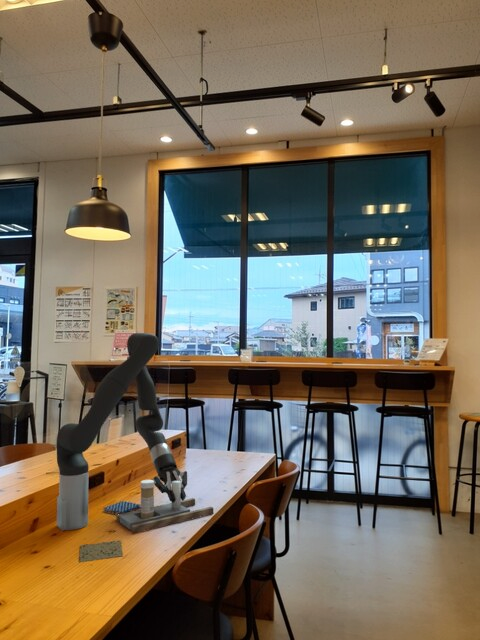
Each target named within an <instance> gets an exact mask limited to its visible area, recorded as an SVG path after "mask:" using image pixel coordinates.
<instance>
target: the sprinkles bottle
mask: <svg viewBox="0 0 480 640" xmlns="http://www.w3.org/2000/svg"><path fill="white" fill-rule="evenodd" d="M139 484H140V485H139V486H140V504H141V509H140V510H141V518H140V519H142V520H143V519H147V518H151V517H154V507H155V493H154V492H155V491H154V490H155V485H154V481H153V479H143V480H141V481H140V483H139Z"/></svg>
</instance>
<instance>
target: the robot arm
mask: <svg viewBox="0 0 480 640" xmlns="http://www.w3.org/2000/svg"><path fill="white" fill-rule="evenodd" d="M159 341H160V340H159V338H158V336H156V335H155V334H154V333H150V332H149V333H148V332H135V333H132V334H131V335H129V337H128V339H127V341H126V348H127V353H128V354H127V355H128V356H129V357H127V359H126V360H124V361H123V362H122V363H120V364H119V365H117V366H115V367H114V368H113V369H112V370H110V371H109V372H108V373H107V374H106V375H105V376H104V377H103V379H102V380H101V381H100V383H99V384H98V386H97V387H96V389H95V391H94V394H93V399H92V402H91V406H90V408H89V410H88V411H87V413H86V414H85V415H84V417H83V418H82V419H81V421H80V422H79V423H72V422H70V423H69V422H68V423H66V424H64V425H62V426H61V428H60V429H59V430H58V433H57V436H56V464H57V467H58V471H59V473H58V474H59V475H58V476H59V480H58V483H59V484H58V487H59V488H58V493H59V494H58V495H57V497H56V498H57V499H56V527H58V528H59V529H60V530H61V531H72V530H73V531H74V530H77V529H81V528H84V527H86V526H87V525H89V475H90V474H89V472H90V471H89V468H90V467H89V463H88V461H87V460H86V458H85V457H84V452H86V451H87V450H88V449H89V448H90V447H91V446H92V444H93V443H94V442H95V439H96V438H97V436H98V435H99V432H100V430H101V429H102V427H103V425H104V423H105V422H106V421H107V419H108V418H109V416H110V415H111V413H112V412H113V410H114V409H115V407H116V406H117V405H118V403H119V402H120V401H121V400H122V398H123V396H125V394H126V392H127V390H128V389H129V388H130V386H131V385H132V383H133V382H134V381H135V384H136V385H135V386H136V391H137V395H136V396H137V403H138V404H137V405H138V409H139V410H141V411H150V412H151V413H150V414H145V415H142V416H141V415H140V416H139V417H137V418H136V420H135V429H136V431H137V433H138V434H139V435H140V437H141V438H142V439H143V440H144V441H145V443H146V445H147V447H148V449H149V452H150V457H151V461H152V463H153V465H154V468H155V471H156V474H157V476H154V477H153V479H152V480H153V481H154V487H156V488H157V490H158V491H159V492H160V493H161V494H164V493H165V494H167V497H168V499H169V502H170V503H174V502H175V500H176V498H175V495H174V493H173V490H172V484H171V482H172V481H181V501H183V500H186V497H187V494H186V492H185V488H186V487H187V485H188V471H186V470H185V471H180V469H179V468H178V465H177V462H176V460H175V457H174V455H173V453H172V450H171V448H170V446H169V444H168V441H167V439H166V437H165V435H164V433H163V432H160V431H161V430H162V429H163V427H164V420H163V417H162V415H161V413H160V410H159V407H158V403H157V395H156V394H157V392H156V387H155V384H154V381H153V379H152V377H151V375H150V373H149V371H148V367H147V364H148V363H149V362H150V360H152V358H153V357H154V356H155V355H156V353H157V352H158V350H159V345H160V342H159Z"/></svg>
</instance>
